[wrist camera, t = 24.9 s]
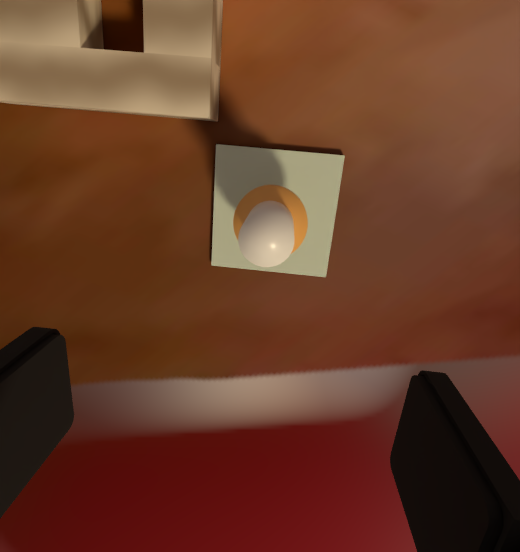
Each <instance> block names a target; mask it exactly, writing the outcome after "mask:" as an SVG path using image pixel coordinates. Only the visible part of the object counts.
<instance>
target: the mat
mask: <svg viewBox="0 0 520 552" xmlns="http://www.w3.org/2000/svg"><path fill="white" fill-rule="evenodd" d="M344 157H345V156H344V155H334V154H322V153H311V152H300V151H288V150H277V149H266V148H254V147H243V146H232V145H221V144H216V159H215V185H214V211H213V237H212V263H211V265H213V266H222V267H232V268H242V269H251V270H261V271H271V272H281V273H290V274H300V275H310V276H319V277H326V273H327V267H328V260H329V254H330V247H331V241H332V234H333V228H334V221H335V215H336V208H337V202H338V196H339V189H340V183H341V176H342V170H343V163H344ZM269 184H271V185H280V186H283V187H285V188H288V189H289V190H291V191H292V192H294V193H295V194H296V195H297V196H298V197H299V198H300V200H301V201H302V203H303V205H304V207H305V210H306V213H307V218H308V228H307V233H306V236H305V238H304V240H303V242H302V244H301V245H300V246H299V247H298V249H297V250H295V251H294V252H293V253H291V254H290V256H289V257H288V258H287V259H286V260H285V261H284V262H282V263H281V264H279V265H277V266H273V267H260V266H257V265H254V264H253V263H251V262H249V261H248V260H247V259H246V258H245V257H244V255H243V254H242V252H241V250H240V248H239V243H238V240H237V238H236V235H235V232H234V227H233V218H234V213H235V210H236V207H237V205H238V204H239V202H240V201H241V199H242V198H243V197H244V196H245V195H246V194H247V193H248V192H250V191H251V190H253V189H254V188H257V187H259V186H263V185H269Z"/></svg>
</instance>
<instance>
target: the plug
mask: <svg viewBox="0 0 520 552" xmlns="http://www.w3.org/2000/svg"><path fill="white" fill-rule="evenodd" d="M233 227H234V232H235V235H236V238H237V240H238V243H239V248H240V250H241V252H242V254H243V255H244V257H245V258H246V259H247V260H248V261H249V262H251V263H253V264H254V265H257V266H260V267H273V266H277V265H279V264H281V263H282V262H284V261H285V260H286V259H287V258H288V257H289V256H290V254H291V253H293V252H294V251H295V250H297V249H298V247H299V246H300V245H301V244H302V242H303V240H304V238H305V236H306V233H307V228H308V218H307V213H306V210H305V207H304V205H303V203H302V201H301V200H300V198H299V197H298V196H297V195H296V194H295V193H294V192H292V191H291V190H289V189H288V188H285V187H283V186H280V185H271V184H269V185H263V186H259V187H257V188H254V189H253V190H251V191H250V192H248V193H247V194H246V195H245V196H244V197H243V198H242V199H241V201H240V202H239V204H238V205H237V207H236V210H235V213H234V218H233Z"/></svg>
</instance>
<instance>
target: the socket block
mask: <svg viewBox="0 0 520 552" xmlns="http://www.w3.org/2000/svg"><path fill="white" fill-rule="evenodd" d="M222 12H223V0H143V29H144V53H142V52H129V51H116V50H104V44H103V26H102V9H101V0H0V102H3V103H10V104H20V105H32V106H43V107H55V108H67V109H78V110H90V111H102V112H113V113H125V114H137V115H148V116H160V117H172V118H183V119H195V120H207V121H218V113H219V88H220V62H221V37H222Z"/></svg>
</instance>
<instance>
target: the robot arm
mask: <svg viewBox="0 0 520 552" xmlns="http://www.w3.org/2000/svg"><path fill="white" fill-rule="evenodd" d="M73 418H74V411H73V402H72V394H71V385H70V377H69V368H68V359H67V351H66V342H65V338H64V336H62V335H60V333H59V331H58V330H56V329H50V328H41V327H33V328H31V329H29V330H28V331H26V332H25V333H23V334H22V335H21V336H19V337H18V338H16V339H15V340H13V341H12V342H11V343H9V344H8V345H6V346H5V347H4V348H2V349H1V350H0V518H1V517H2V515H3V514H4V512H5V511H6V510H7V509H8V508H9V506H10V505H11V504H12V502H13V501H14V500H15V498H16V497H17V496H18V495H19V493H20V492H21V491H22V489H23V488H24V487H25V486H26V484H27V483H28V482H29V480H30V479H31V478H32V477H33V475H34V474H35V473H36V472H37V470H38V469H39V468H40V466H41V465H42V464H43V462H44V461H45V460H46V458H47V457H48V456H49V455H50V454H51V452H52V451H53V450H54V448H55V447H56V445H57V444H58V443H59V442H60V441H61V439H62V438H63V437H64V435H65V434H66V433H67V432H68V430H69V429H70V427H71V425H72V422H73ZM390 463H391V469H392V473H393V475H394V479H395V482H396V485H397V489H398V492H399V495H400V498H401V501H402V504H403V508H404V511H405V514H406V517H407V520H408V524H409V527H410V530H411V533H412V536H413V539H414V542H415V546H416V549H417V552H520V480H519V479H518V477H517V476H516V474H515V473H514V472H513V470H512V469H511V467H510V466H509V464H508V463H507V461H506V460H505V458H504V457H503V455H502V454H501V453H500V451H499V450H498V448H497V447H496V445H495V444H494V442H493V441H492V440H491V438H490V437H489V435H488V434H487V432H486V431H485V429H484V428H483V427H482V425H481V424H480V422H479V421H478V419H477V418H476V416H475V415H474V413H473V412H472V410H471V409H470V408H469V406H468V405H467V403H466V402H465V400H464V399H463V397H462V396H461V394H460V393H459V392H458V390H457V389H456V387H455V386H454V385H453V383H452V381H451V380H450V379H449V377H448V376H447V375H446V374H445V373H440V372H431V371H420V373H419V374H418V376H416V375H414V376H412V378H411V381H410V384H409V388H408V391H407V395H406V399H405V403H404V406H403V410H402V414H401V418H400V421H399V425H398V429H397V432H396V436H395V440H394V444H393V447H392V451H391V457H390Z"/></svg>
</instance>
